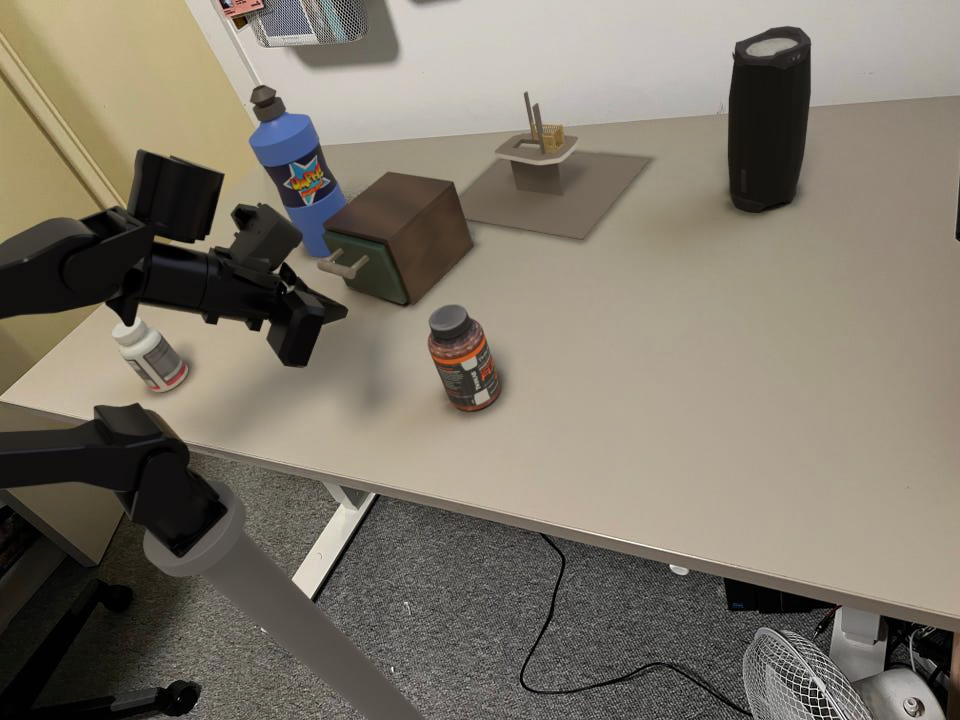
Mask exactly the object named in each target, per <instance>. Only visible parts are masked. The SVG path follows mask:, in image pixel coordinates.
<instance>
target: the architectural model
mask: <svg viewBox="0 0 960 720" xmlns="http://www.w3.org/2000/svg"><path fill="white" fill-rule="evenodd" d="M523 97H524V104H525V108H526V113H527V117H528V123H529V127H530V132H527V133H520V134H515V135H513V136H511V137H510V138H509V139H507V140H506V141H505V142H503V143H502V144H501V145H499V146H498V147H497V148H496V149H494V155H495V157H496V158H499V159H501V160H499V161H498V162H497V163H496V164H495V165H494V166H492V168H491V169H489V171H487V173H485V175H483V176H482V177H481V178H480V179H479V180H478V181H477V182H476V183H475V184H474V185H473V186H472V187H471V188H469V189H468V191H466V193H464V194H463V195H462V196H461V197H460V198H459V201H460V204H461V207H462V210H463V214H464V217H465V220H466V221H467V220H468V221H474V222H480V223H486V224H491V225H495V226H496V225H497V226H503V227H508V228H514V229H520V230H525V231H526V230H527V231H532V232H538V233H543V234H548V235H549V234H550V235H555V236H561V237H566V238H567V237H568V238H573V239H578V240H583V239H585V237H586V236H587V235H588V234H589V233H590V231H592V229H593V227H595V225H596V224H597V223H598V222H599V220H601V218H602V217H603V216H604V214H605V213H607V211H608V210H609V208H610V207H612V205H613V204H614V203H615V202H616V201H617V199H618V198H619V196H620V195H621V194H622V193H623V192H624V191H625V189H626V188H627V187H628V186H629V184H631V182H632V181H634V179H635V178H636V177H637V175H638V174H639V172H641V170H642V169H643V168H644V167H645V166H646V165H647V163H648V162H649V159H644V158H633V157H622V156H620V157H619V156H611V155H599V154H587V153H577V152H576V153H575V152H574V151H575V150H576V149H577V147H578V146H579V144H580V139H579V136H573V135H566V134H564V125H563V124H546V123H545V124H543V121H542V115H541V111H540V110H541V109H540V105H539V102H535V104H533V106H532V107H531V102H530V97H529V92H528V91H525V92H524V93H523ZM523 144H525V145H537V146H538V145H539V148H538V149H531V148H519V147H520V146H521V145H523Z"/></svg>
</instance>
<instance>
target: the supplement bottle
mask: <svg viewBox="0 0 960 720" xmlns="http://www.w3.org/2000/svg"><path fill="white" fill-rule="evenodd" d="M428 326H429V328H430V333H429V335H428V338H427V348H428V352H429V353H430V356H431V358H432V361H433V363H434V366H435V368H436V371H437V373H438V375H439V379H440V380H441V383H442V385H443V388H444V389H445V390H444V391H445V392H446V395H447V396H448V399H449V401H450V403H451V404H452V405H453V407H455V408H456V409H458V410H462V411H468V412H470V411H477V410H482V409H483V408H486V407H487V406H489V405H490V404H492V403H493V402H494V401H495V400H496V398H497V397H498V395H499V393H500V390H501V381H500V377H499V374H498V371H497V369H496V365H495V362H494V359H493V356H492V354H491V349H490V346H489V343H488V339H487V338H486V334H485V331H484V329H483V327H482V325H481V324H480V322H478V321H477V320H476V319H474V318H471V317H470V316H469V313H468V311H467V309H466V307H465V306H463V305H460V304H457V303H451V304H446V305H443V306H440V307H439V308H437V309H435V310H434V311H433V312H432V313H431V314H430V316H429V317H428Z"/></svg>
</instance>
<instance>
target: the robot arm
mask: <svg viewBox="0 0 960 720" xmlns="http://www.w3.org/2000/svg"><path fill="white" fill-rule="evenodd" d="M133 168H134V169H133V170H134V173H133V179H132V184H131V187H130V191H129V192H130V193H129V195H128V196H129V197H128V201H127V206H126V208H124V207H122V206H120V205H114V206H111V207H108V208H106V209H103V210H100V211H97V212H94V213H92V214H89V215H87V216H84V217H82V218H79V219H76V218H72V217H65V216H60V217H53V218H49V219H46V220H44V221H41V222H39V223H37V224H35V225H33V226H31V227H29V228H27V229H25V230H23V231H21V232H19V233H16V234H15V235H13V236H11V237H9V238H7V239H5V240H4V241H3V242H1V243H0V321H1V320H5V319H9V318H14V317H19V316H32V315H35V316H36V315H48V314H49V315H50V314H51V315H52V314H53V315H54V314H59V313H63V312H68V311H73V310H77V309H83V308H85V307H91V306H95V305H98V304H102V303H103V304H104V305H105V306H106V307H107V308H108V309H110V310H112V311H113V312H114V313H115V314H116V315H117V316H118V317H119V318H120V320H121V322H123V323H124V325H125V326H126V327H132V326H133V325H134V323H135V318H136V316H137V314H138V310H139V306H140V305H141V306H146V307H152V308H158V309H162V310H163V309H165V310H170V311H176V312H181V313H189V314H194V315H200V316H201V319H202V320H203V322H204V323H205V324H207V325H213V326H218V322H219V320H220V319H223V320H229V321H236V322H240V323H244V324H245V326H246V327H247V329H248V330H249V331H251V332H257V333H261V331H262V327H263V324H264V322H265V321H268V322H269V324H270V327H269V328H268V329H269V330H268V332H267V335H266V338H265V340H266V341H267V343H268V345H269V346H270V348H271V350H272V351H273V352H274V354H275V355H276V357H277V358H278V359H279V361H280V363H281V364H282V366H284V367H287V368H296V369H305V368H306V367H307V368H308V365H309V363H310V360H311V357H312V354H313V351H314V349H315V347H316V344H317V341H318V338H319V335H320V333H321V331H322V327H323V326H325V325H328V324H331V323H334V322H338V321H341V320H344V319H346V318H347V316H348V314H349V308H348V307H347V306H346V305H344V304H342V303H340V302H338V301H336V300H334V299H332V298H330V297H329V296H327V295H324V294H322V293H320V292H318V291H317V290H315V289H313V288H311V287H309V285H307V284H306V283H305V281H304V280H303V279H302V278H301V277H300V276H297V273H296V272H295V270H294V269H293V268H292V267H291V266H290V265H289V264H288V263H287V262H286V261H285V260H286V259H287V258H288V256H289V255H290V254H291V252H292V251H293V250H294V249H296V248H298V247H299V246H300V244H301V243H302V239H303V233H302V232H301V231H300V230H299V229H298V228H297V227H296V226H295V225H294V224H293V223H292V221H291V220H289V219H287V217H285V215H283V214H281V213H280V212H279V211H277V210H276V209H275V208H273V207H271V206H270V205H269V204H268V203H263V204H262V203H261V202H260V201H259V202H258V203H257V204H256V205H251V204H246V203H237V205H236V206H235V208H234V209H232V211H231V212H230V217H231V220H232V221H233V223H234V225H235V227H236V229H237V230H238V231H239V232H237V231H235V232H234V233H233V236H234V237H235V239H234V241H233V242H232V243H231V245H230V246H229V247H223V246H220V245H215V246H214V247H209V249H208V252H206V251H201V250H197V249H192V248H188V247H183V246H180V245H176V244H171V243H167V242H163V241H158V240H155V237H160V238H164V239H167V240H169V241H173V242H178V243H183V244H188V245H189V244H190V245H194V244H196V241H200V242H205V241H206V236H210V235H211V231H212V227H213V223H214V219H215V215H216V212H217V207H218V203H219V200H220V196H221V191H222V188H223V184H224V180H225V176H226V173H224V172H222V171H220V170H216V169H214V168H211V167H209V166H207V165H204V164H203V165H202V164H200V163H197V162H194V161H191V160H188V159H184V158H181V157H179V156H175V155H172V154H170V155H169V156H167V155H164V154H161V153H157V152H152V151H149V150H145V149H142V148H139V149H137V150H136V153H135V158H134V164H133ZM278 269H279V271H278V273H277V272H275V271H276V270H278ZM190 458H191V452H190V449H189V447H188V445H187V443H186V442H184V440H182V438H181V437H180V436H179V435H178V434H177V432H175V430H173V428H172V427H171V426H170V425H169V424H168V422H167V421H166V420H165V419H164V418H163V417H162V416H161V415H160V414H159V413H158V412H157V411H154V410H152V409H148V408H144V407H143V406H142V405H141V403H140V402H133V403H131V404H129V405H121V406H119V405H118V406H115V405H106V404H98V405H97V404H96V405H94V406H93V419H91V420H88V421H86V422H84V423H81V424H79V425H77V426H75V427H71V428H60V429H59V428H58V429H57V428H55V429H40V430H38V429H36V430H16V431H15V430H14V431H13V430H12V431H0V491H2V490H11V489H20V488H21V489H23V488H32V487H33V488H34V487H42V486H49V485H50V486H51V485H61V484H70V483H71V484H72V483H76V484H77V483H78V484H84V485H88V486H92V487H96V488H101V489H104V490H108V491H111V492H112V494H113V495H114V497H115V498H116V500H117V502H118V503H119V504H120V506H121V508H122V509H123V510H124V512H125V513H126V515H127V516H128V518H129V520H130V521H131V522H132V524H136V525H140V526H143V528H145V530H146V529H147V530H148V531H149V532H150V533H151V534H152V535H153V536H154V537H155V538H156V539H157V540H158V541H160V542H161V543H162V544H163V545H164V546H165V547H166V548H167V549H168V550H169V551H171V552H172V553H173V554H174V555H175V556H176V557H177V558H182V557H184V556H185V555H186V554H187V553H188V552H189V551H190V550H191V549H192V548H193V547H194V546H195V545H196V544H197V543H198V542H199V541H200V540H201V539H202V538H203V537H204V536H205V535H206V534H207V533H208V532H209V531H210V530H211V529H212V528H213V527H214V526H215V525H216V524H217V523H218V522H219V521H220V519H221V518H222V517H223V516H224V515H225V514H226V513H227V512H228V508H227V507H226V506H225V505H223V504H222V503H221V502H219V501H218V499H219V498H220V495H219V494H218V493H217V492H216V491H215V490H214V489H213V488H212V487H211V486H210V485H209V484H208V483H207V482H206V481H207V480H206V479H205V478H204V477H203V476H202V475H201V474H199V473H198V472H197V471H196V470H194V469H192V468H191V467H190V466H189V464H190V460H191V459H190Z"/></svg>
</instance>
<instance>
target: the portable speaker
mask: <svg viewBox="0 0 960 720" xmlns="http://www.w3.org/2000/svg"><path fill="white" fill-rule="evenodd" d="M734 45H735V46H734V51H732V52H731V53H732V54H731V55H732V59H733V64H732V72H731V79H730V86H729V94H728V110H727V111H728V113H727V114H728V115H727V116H728V117H727V120H728V121H727V168H728V183H729V184H728V185H729V193H730V195H731V198H732V202H733V204H734V207H735V208H737V209H740V210H741V211H746V212H750V213H760V212H761V211H762V210H763V209H764V208H766V207H770V206H773V205H777V204H781V203H784V204H791V203H792V202H793V200H794V198H795V196H796V195H797V186H798V183H799V179H800V175H801V172H802V166H803V161H804V156H805V149H806V142H807V132H808V123H809V114H810V105H811V96H812V95H811V94H812V45H813V44H812V41H811V37H810V36H808V34H807V33H806V32H805V31H804V30H803V29H802V28H801V27H799V26H790V25H785V26H776V27H770V28H768V29H767V30H764V31H763V32H761V33H758V34H755V35H753V36H750V37H747V38H746V39H743V40H740V41H736V42H735V44H734Z"/></svg>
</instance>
